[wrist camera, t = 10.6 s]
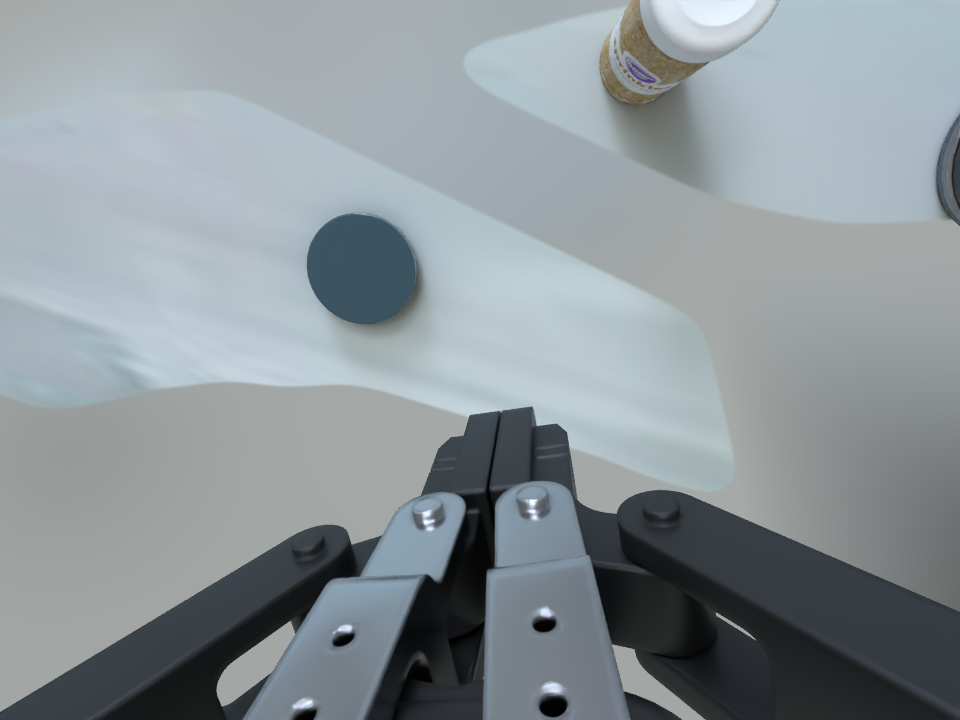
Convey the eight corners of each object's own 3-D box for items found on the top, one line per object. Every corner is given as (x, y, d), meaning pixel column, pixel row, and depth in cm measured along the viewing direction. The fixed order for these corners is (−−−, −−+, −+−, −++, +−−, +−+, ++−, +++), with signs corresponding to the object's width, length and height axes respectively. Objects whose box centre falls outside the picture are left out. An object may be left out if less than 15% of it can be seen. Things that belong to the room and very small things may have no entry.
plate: (353, 188, 34) (347, 188, 33) (440, 261, 35) (437, 263, 34) (293, 273, 36) (285, 276, 35) (376, 340, 37) (372, 345, 36)
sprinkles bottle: (586, 89, 32) (628, 23, 19) (618, 3, 30) (687, -130, 18) (659, 118, 32) (750, 72, 19) (695, 33, 30) (819, -77, 18)
